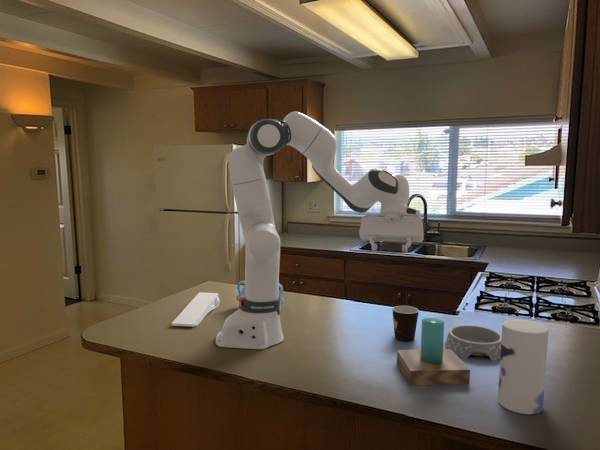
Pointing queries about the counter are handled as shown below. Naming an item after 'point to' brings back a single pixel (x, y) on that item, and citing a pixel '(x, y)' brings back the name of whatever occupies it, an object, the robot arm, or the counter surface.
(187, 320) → the white curved piece
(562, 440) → the counter surface
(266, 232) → the robot arm
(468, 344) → the dog bowl
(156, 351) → the counter surface
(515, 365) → the container
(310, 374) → the counter surface
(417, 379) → the wavy tan tile
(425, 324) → the teal rounded cylinder
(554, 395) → the counter surface
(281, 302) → the blue figurine
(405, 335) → the coffee mug
